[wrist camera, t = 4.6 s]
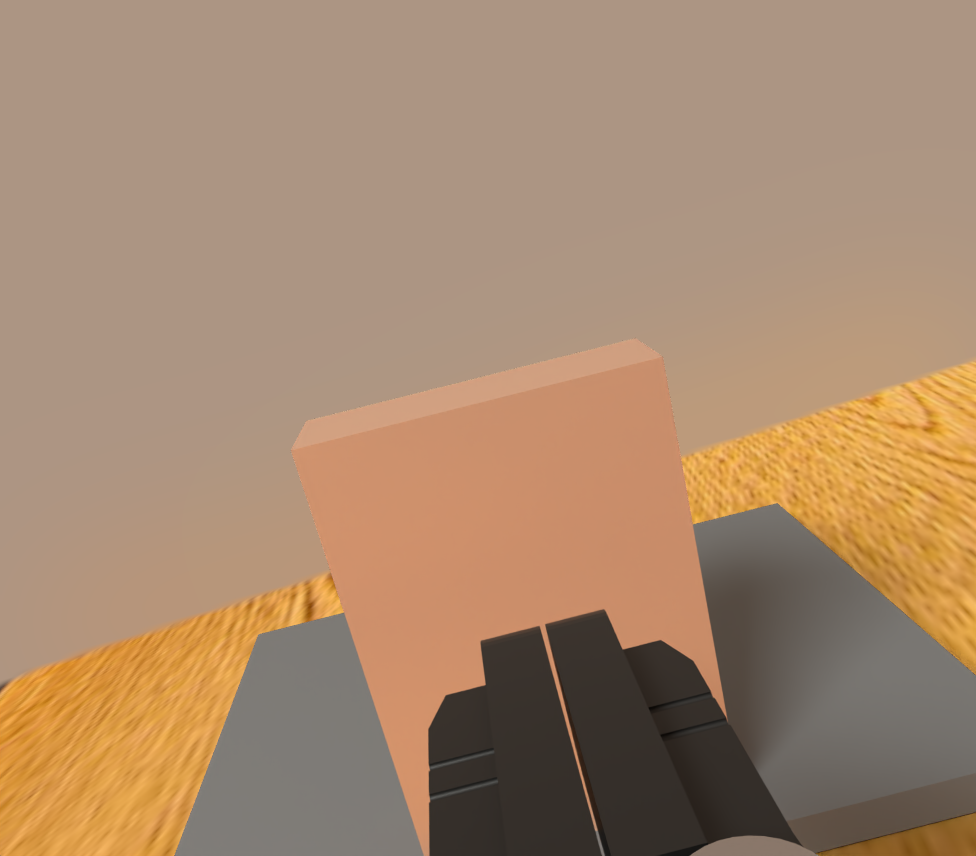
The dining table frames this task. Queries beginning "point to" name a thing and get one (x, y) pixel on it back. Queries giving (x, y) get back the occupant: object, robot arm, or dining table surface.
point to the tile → (504, 529)
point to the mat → (746, 691)
